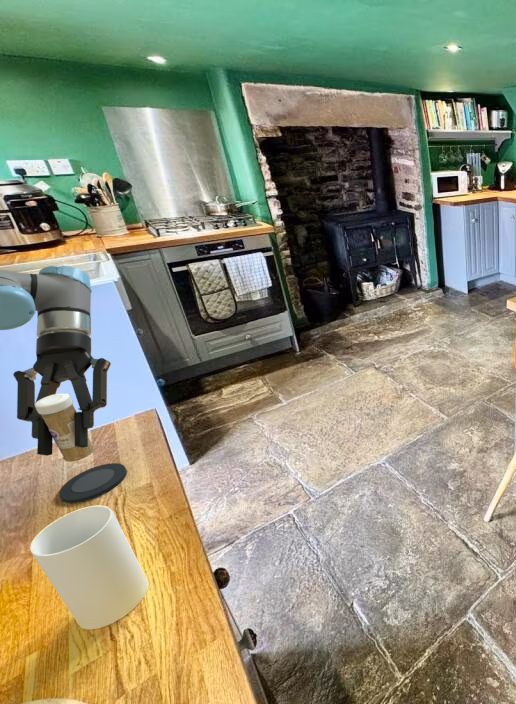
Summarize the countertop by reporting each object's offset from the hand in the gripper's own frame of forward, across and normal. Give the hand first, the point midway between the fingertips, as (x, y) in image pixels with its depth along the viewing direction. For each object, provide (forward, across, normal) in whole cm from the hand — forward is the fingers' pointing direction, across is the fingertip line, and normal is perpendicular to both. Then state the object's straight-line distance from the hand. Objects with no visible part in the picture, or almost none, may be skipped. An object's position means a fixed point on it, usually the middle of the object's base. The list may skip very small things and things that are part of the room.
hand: (63, 450), depth 76 cm
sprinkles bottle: (0, 0, -6) cm, 6 cm away
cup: (+29, -11, +12) cm, 33 cm away
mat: (+6, 0, -11) cm, 12 cm away
